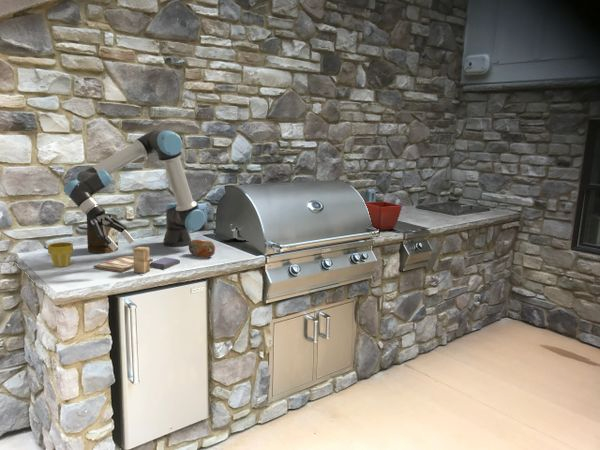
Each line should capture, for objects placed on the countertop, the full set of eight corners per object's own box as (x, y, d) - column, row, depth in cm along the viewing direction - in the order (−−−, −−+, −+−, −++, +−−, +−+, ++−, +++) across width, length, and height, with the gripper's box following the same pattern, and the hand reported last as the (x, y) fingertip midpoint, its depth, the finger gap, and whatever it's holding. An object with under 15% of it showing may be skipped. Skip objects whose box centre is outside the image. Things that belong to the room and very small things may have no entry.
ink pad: (164, 260, 241) (164, 256, 240) (179, 262, 238) (179, 258, 237) (148, 266, 230) (148, 262, 229) (164, 269, 227) (164, 265, 226)
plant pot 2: (400, 229, 334) (402, 205, 331) (378, 232, 324) (380, 207, 321) (382, 224, 350) (384, 201, 347) (361, 226, 341) (362, 202, 337)
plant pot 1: (50, 262, 230) (49, 242, 229) (74, 261, 234) (73, 241, 232) (47, 268, 221) (46, 247, 219) (73, 267, 225) (71, 246, 223)
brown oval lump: (188, 254, 253) (188, 238, 252) (192, 253, 256) (192, 237, 254) (212, 258, 247) (212, 242, 245) (216, 257, 250) (216, 241, 248)
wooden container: (119, 252, 252) (117, 210, 248) (87, 254, 247) (85, 211, 242) (117, 245, 266) (116, 205, 261) (88, 247, 260) (85, 206, 256)
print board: (126, 256, 245) (126, 254, 245) (152, 260, 239) (152, 258, 239) (93, 267, 225) (93, 265, 225) (121, 272, 219) (121, 269, 219)
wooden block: (139, 269, 224) (138, 246, 222) (149, 270, 223) (149, 247, 221) (133, 273, 220) (133, 249, 217) (144, 274, 219) (143, 250, 216)
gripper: (103, 211, 233) (133, 244, 233) (69, 220, 209) (103, 257, 209) (113, 200, 231) (143, 234, 231) (80, 208, 207) (113, 246, 207)
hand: (124, 245), depth 220 cm, fingers open, 13 cm apart
